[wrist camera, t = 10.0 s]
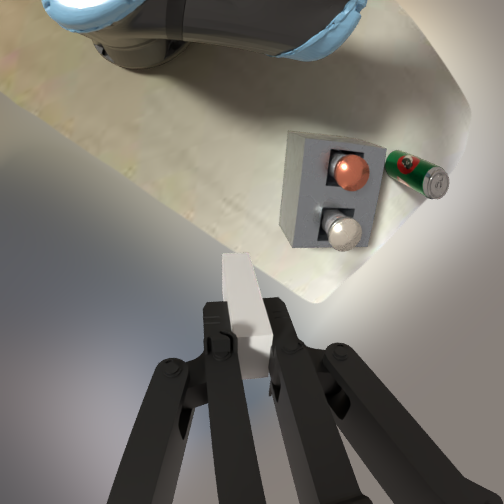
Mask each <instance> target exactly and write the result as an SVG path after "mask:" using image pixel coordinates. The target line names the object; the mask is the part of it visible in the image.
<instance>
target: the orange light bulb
mask: <svg viewBox="0 0 504 504" xmlns="http://www.w3.org/2000/svg"><path fill="white" fill-rule="evenodd" d="M327 173H328V174H330V175H331V176H333V177H334V178H335V180H336V182H337V184H338V185H339V186H341V187H342V188H343V189H345V190H347V191H357V190H359V189H361V188H362V187H363V186H364V185H365V184H366V183H367V181H368V178H369V174H370V171H369V166H368V164H367V162H366V161H365V160H364V159H363V158H361V157H359V156H357V155H354V154H349V155H346V154H344V153H342V152H340V151H337V150H335V149H330V156H329V164H328V172H327Z"/></svg>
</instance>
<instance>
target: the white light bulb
mask: <svg viewBox="0 0 504 504" xmlns="http://www.w3.org/2000/svg"><path fill="white" fill-rule="evenodd" d="M320 226H321V227H322V228H323V230H324V231H325V232H326V233H327V235H328V241H329V242H330V244H331V245H332V246H333V247H334V248H335V249H336V250H338V251H348V250H351V249H352V248H354V247H355V246H356V245H357V244H358V243H359V241H360V239H361V236H362V228H361V226H360V224H359V223H358V222H357V221H356V220H355V219H353V218H352V217H348V216H345V215H344V214H343V213H342V212H341V211H340V210H338V209H337V208H325V207H322V214H321V220H320Z"/></svg>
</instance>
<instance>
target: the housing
mask: <svg viewBox="0 0 504 504" xmlns="http://www.w3.org/2000/svg"><path fill="white" fill-rule="evenodd" d="M330 149H335V150H337V151H340V152H342V153H344V154H346V155H349V154H354V155H357V156H359V157H361V158H363V159H364V160H365V161H366V162H367V164H368V166H369V171H370V174H369V178H368V181H367V183H366V184H365V185H364V186H363V187H362V188H361V189H359V190H357V191H347V190H345V189H343V188H342V187H341V186H339V185H338V184H337V182H336V180H335V178H334V177H333V176H331V175H330V174H328V173H327V172H328V164H329V156H330ZM386 150H387V149H386V148H383V147H381V146H378V145H375V144H373V143H370V142H367V141H364V140H361V139H356V138H349V137H341V136H333V135H325V134H316V133H306V132H295V131H288V136H287V147H286V159H285V169H284V180H283V190H282V200H281V210H280V220H279V226H280V227H281V229H282V231H283V232H284V234H285V236H286V238H287V239H288V241H289V243H290V245H291V246H292V248H315V247H333V246H332V245H331V244H330V242H329V241H328V235H327V233H326V232H325V231H324V230H323V228H322V227H321V226H320V220H321V214H322V207H325V208H337V209H338V210H340V211H341V212H342V213H343V214H344V215H345V216H348V217H352V218H353V219H355V220H356V221H357V222H358V223H359V224H360V226H361V228H362V236H361V239H360V241H359V243H358V244H357V245H356V246H355V247H367V246H368V242H369V238H370V233H371V229H372V225H373V220H374V215H375V211H376V206H377V201H378V196H379V191H380V186H381V180H382V175H383V169H384V163H385V157H386Z"/></svg>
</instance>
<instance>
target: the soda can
mask: <svg viewBox="0 0 504 504" xmlns="http://www.w3.org/2000/svg"><path fill="white" fill-rule="evenodd" d="M385 168H386V172H387V174H388V175H389V176H390V177H391V178H393V179H395V180H397V181H399V182H401V183H402V184H404V185H406V186H408V187H410V188H411V189H413V190H415V191H417V192H418V193H420V194H422V195H424V196H425V197H427V198H429V199H440V198H442V197H443V196H444V195H445V194H446V192H447V190H448V187H449V177H448V175H447V173H446V172H445V171H444V170H443V169H442V168H441V167H440V166H437V165H435V164H433V163H430V162H428V161H426V160H423V159H421V158H418V157H416V156H413V155H411V154H408V153H406V152H403V151H400V150H396V151H393V152H392V153H390V154H389V156H388V157H387V159H386V163H385Z"/></svg>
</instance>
